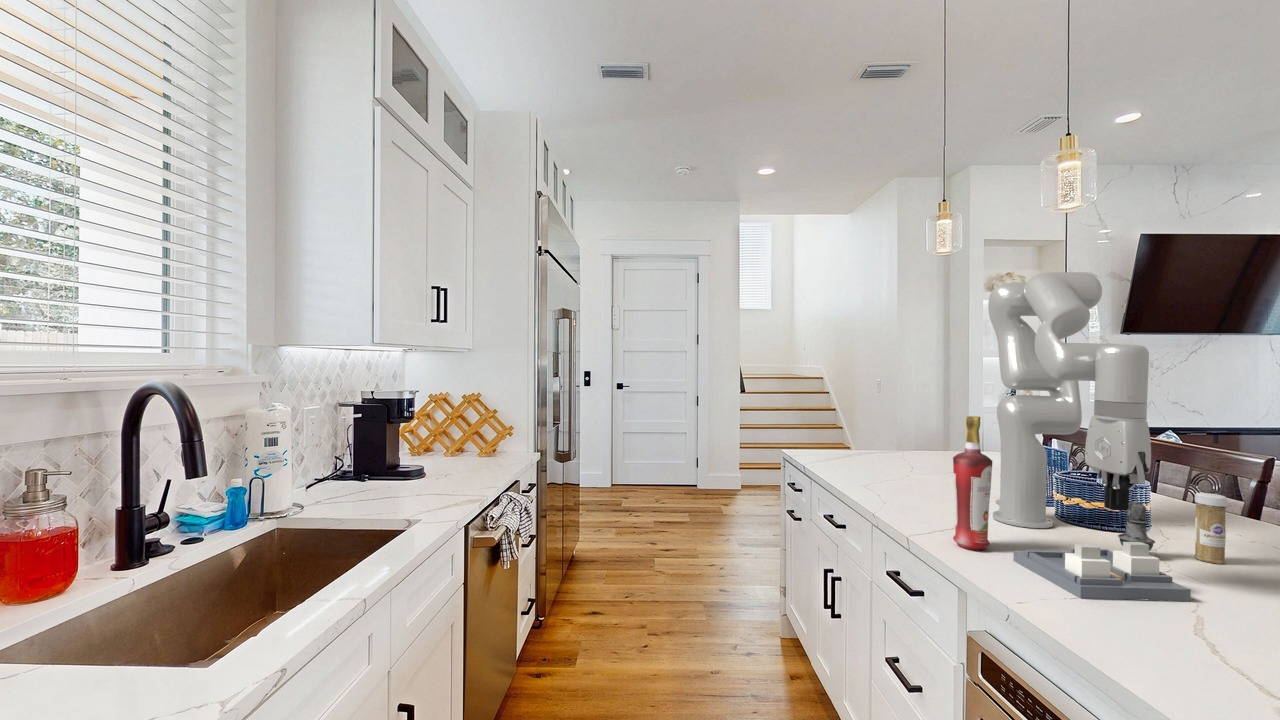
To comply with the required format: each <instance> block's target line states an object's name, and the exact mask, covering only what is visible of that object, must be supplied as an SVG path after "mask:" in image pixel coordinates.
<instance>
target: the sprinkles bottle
mask: <svg viewBox="0 0 1280 720" xmlns="http://www.w3.org/2000/svg"><path fill="white" fill-rule="evenodd" d="M1194 502H1195V517H1194V520H1195V521H1194V546H1195V547H1194V548H1195V549H1194V551H1195V553H1194V556H1193V557H1194V558H1195V559H1196V560H1198V561H1201V562H1203V563H1204V562H1206V563H1210V564H1216V565H1223V564H1226V557H1225V556H1226V538H1227V537H1226V536H1227V534H1226V509H1227V505H1228V498H1227V496H1225V495H1221V494H1216V493H1209V492H1208V493H1207V492H1196V493H1195V495H1194Z"/></svg>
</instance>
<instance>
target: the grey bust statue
mask: <svg viewBox="0 0 1280 720" xmlns="http://www.w3.org/2000/svg"><path fill="white" fill-rule="evenodd" d="M1146 515H1147V507H1146V505H1145V504H1143V503H1141V502H1139V498H1138V497H1136V498H1135V499H1134V501H1133V502H1129V509H1128V510H1127V517H1125V518H1124V520H1126V529H1125V532H1124V533H1119V534H1118V535H1117V537H1118V538H1119V542H1120V544H1121V546H1122V547H1123V542H1142V543H1145V544H1147V545H1149V552H1150V551H1151V550H1152V548H1154V544H1155V543H1156V540H1154V539H1152V538H1150V537H1149V536H1148V534H1147V523H1149V521H1148V520H1147V517H1146ZM1121 551H1123V549H1122V550H1121Z"/></svg>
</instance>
